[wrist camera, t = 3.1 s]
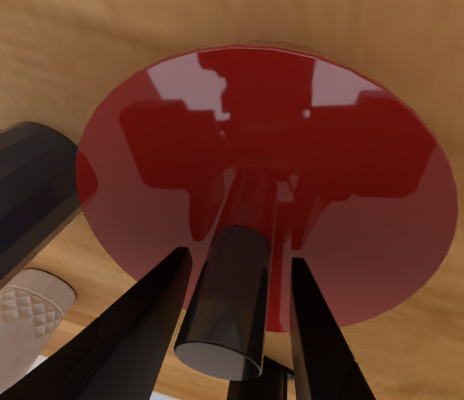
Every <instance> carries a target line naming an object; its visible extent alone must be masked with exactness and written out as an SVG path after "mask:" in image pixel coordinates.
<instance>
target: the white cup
mask: <svg viewBox="0 0 464 400" xmlns="http://www.w3.org/2000/svg"><path fill="white" fill-rule="evenodd" d="M75 299H76V296H75V293H74V291H73V290H72V289H71V288H70V287H69V286H68V285H67V284H66V283H64V282H63V281H62V280H60V279H58V278H57V277H55V276H53V275H51V274H49V273H46V272H44V271H40V270H35V269H26V270H23V271H21V272H20V273H19V274H18V275H17V276H16V277H15V278H14V279H13V280H11V281H10V282H9V283H8V284H7V285H6V286H5V287H4V288H3V289H2V290H0V394H1V393H2V392H4V391H5V390H7V389H8V388H10V387H11V386H12V385H14V384H15V383H16V382H18V381H19V380H20V379H22V378H23V377H24V376H25V375H26V373H27V372H28V370H29V369H30V368H31V366H32V365H33V363H34V362H35V360H36V359H37V357H38V356H39V355H40V353H41V352H42V350H43V349H44V347H45V346H46V344H47V342H48V341H49V339H50V338H51V336H52V335H53V333H54V332H55V330H56V329H57V327H58V326H59V324H60V323H61V320H62V317H64V315H65V313H66V312H67V311H68V309H69V308H70V306H71V305H72V303H73V302H74V301H75Z"/></svg>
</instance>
